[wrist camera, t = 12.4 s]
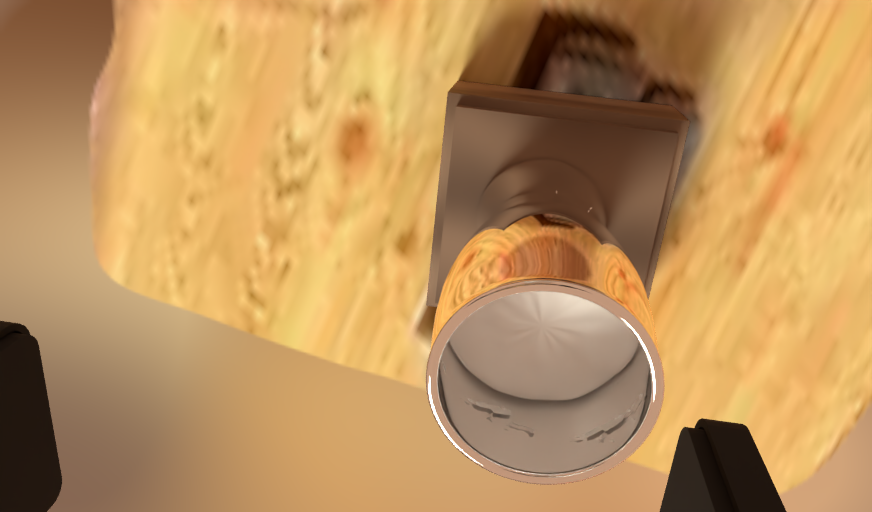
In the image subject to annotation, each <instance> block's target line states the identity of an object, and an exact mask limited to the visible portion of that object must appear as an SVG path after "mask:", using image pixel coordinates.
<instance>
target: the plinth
mask: <svg viewBox="0 0 872 512" xmlns="http://www.w3.org/2000/svg"><path fill="white" fill-rule="evenodd" d="M689 124H690V121H689V120H688V119H687V118H686V117H685V116H684V115H682V114H681V113H680V112H679V111H678V110H677V109H676V108H674V107H673V106H670V105H661V104H653V103H644V102H636V101H627V100H619V99H610V98H602V97H593V96H585V95H576V94H568V93H559V92H551V91H542V90H534V89H525V88H517V87H508V86H500V85H491V84H483V83H474V82H466V81H457V82H456V83H455V85H454V86H453V87H452V88H451V89H450V90H449V92H448V96H447V106H446V116H445V125H444V135H443V145H442V155H441V165H440V175H439V185H438V195H437V204H436V214H435V224H434V234H433V244H432V254H431V264H430V274H429V283H428V293H427V303H426V305H427V306H434V307H438V302H439V298H440V294H441V291H442V288H443V285H444V283H445V280H446V278H447V275H448V273H449V270H450V268H451V266H452V264H453V262H454V260H455V258H456V257H457V255H458V254H459V252H460V251H461V249H462V248H463V246H464V245H465V244H466V242H467V241H468V239H469V238H470V237H471V236H472V235H473V234H474V232H475V231H476V230H477V227H476V217H477V210H478V206H479V202H480V199H481V197H482V195H483V193H484V191H485V189H486V188H487V187H488V185H489V184H490V183H491V181H492V180H493V179H494V178H495V177H496V176H497V175H499V174H500V173H501V172H503V171H504V170H506V169H507V168H509V167H511V166H513V165H515V164H518V163H521V162H524V161H528V160H535V159H550V160H556V161H560V162H563V163H566V164H568V165H571V166H573V167H575V168H576V169H578V170H579V171H581V172H582V173H584V174H585V175H586V176H587V177H588V178H589V179H590V180H591V181H592V182H593V183H594V185H595V186H596V187H597V189H598V191H599V193H600V195H601V197H602V199H603V202H604V206H605V210H606V228H607V229H608V230H609V231H610V232H611V233H612V234H613V236H614V237H615V238H616V239H617V241H618V242H619V243H620V244H621V246H622V247H623V248H624V250H625V251H626V252H627V254H628V255H629V257H630V258H631V260H632V262H633V264H634V266H635V268H636V270H637V272H638V274H639V277H640V279H641V281H642V283H643V286H644V288H645V291H646V294H647V298H648V299H649V295H650V291H651V286H652V282H653V278H654V273H655V269H656V265H657V261H658V256H659V252H660V248H661V244H662V239H663V235H664V231H665V226H666V222H667V218H668V214H669V209H670V205H671V201H672V197H673V192H674V188H675V184H676V179H677V175H678V171H679V167H680V162H681V158H682V154H683V150H684V145H685V141H686V137H687V132H688V128H689Z"/></svg>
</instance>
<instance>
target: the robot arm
mask: <svg viewBox="0 0 872 512" xmlns="http://www.w3.org/2000/svg"><path fill="white" fill-rule="evenodd" d="M61 485H62V476H61V470H60V464H59V458H58V453H57V447H56V441H55V436H54V430H53V425H52V419H51V414H50V407H49V401H48V396H47V390H46V384H45V378H44V373H43V367H42V361H41V356H40V350H39V345H38V342H37V340H36V339H35V337H33V336H31V335H30V333H29V331H28V329H27V328H26V327H25V326H24V325H21V324H18V323H11V322H4V321H0V512H47V511H48V510H49V508H50V507H51V506H52V505H53V504H54V502H55V501H56V499H57V497H58V495H59V493H60V490H61ZM660 512H786V510H785V508H784V505H783V504H782V501H781V499H780V497H779V495H778V492H777V490H776V488H775V486H774V484H773V482H772V479H771V477H770V475H769V473H768V471H767V468H766V466H765V464H764V462H763V460H762V458H761V455H760V453H759V451H758V449H757V447H756V444H755V442H754V440H753V438H752V436H751V434H750V431H749V430H748V428H747V427H746V426H745V425H743V424H738V423H731V422H723V421H716V420H709V419H700V420H698V422H697V424H696V426H695V428H688V427H684V428H683V429H682V431H681V433H680V436H679V440H678V443H677V447H676V451H675V455H674V459H673V463H672V466H671V470H670V474H669V478H668V482H667V486H666V490H665V493H664V498H663V501H662V505H661V509H660Z"/></svg>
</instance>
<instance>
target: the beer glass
mask: <svg viewBox="0 0 872 512" xmlns="http://www.w3.org/2000/svg"><path fill="white" fill-rule="evenodd" d="M476 227H477V230H476V231H475V232H474V234H473V235H472V236H471V237H470V238H469V239H468V241H467V242H466V244H465V245H464V246H463V248H462V249H461V251H460V252H459V254H458V255H457V257H456V258H455V260H454V262H453V264H452V266H451V268H450V270H449V273H448V275H447V278H446V280H445V283H444V285H443V288H442V291H441V294H440V298H439V302H438V307H437V311H436V315H435V321H434V327H433V334H432V342H431V351H430V354H429V358H428V362H427V369H426V389H427V395H428V400H429V403H430V407H431V410H432V413H433V415H434V417H435V419H436V421H437V423H438V425H439V427H440V428H441V430H442V431H443V433H444V434H445V436H446V437H447V438H448V440H449V441H450V442H451V443H452V444H453V445H454V446H455V447H456V448H457V449H458V450H459V451H460V452H461V453H462V454H464V455H465V456H466V457H467V458H468V459H470V460H471V461H473V462H474V463H476V464H477V465H479V466H481V467H482V468H484V469H486V470H488V471H490V472H492V473H495V474H497V475H499V476H502V477H505V478H508V479H512V480H515V481H520V482H526V483H532V484H547V485H549V484H550V485H551V484H565V483H572V482H577V481H581V480H585V479H589V478H591V477H594V476H597V475H600V474H602V473H604V472H606V471H608V470H610V469H612V468H614V467H615V466H617V465H618V464H620V463H622V462H623V461H624V460H626V459H627V458H628V457H629V456H631V455H632V454H633V453H634V452H635V451H636V450H637V449H638V448H639V447H640V446H641V445H642V444H643V442H644V441H645V440H646V438H647V437H648V436H649V434H650V433H651V431H652V429H653V427H654V425H655V423H656V421H657V419H658V416H659V414H660V411H661V407H662V403H663V397H664V372H663V367H662V362H661V359H660V356H659V353H658V345H657V338H656V332H655V326H654V321H653V316H652V312H651V309H650V305H649V301H648V298H647V294H646V291H645V288H644V286H643V283H642V281H641V279H640V277H639V274H638V272H637V270H636V268H635V266H634V264H633V262H632V260H631V258H630V257H629V255H628V254H627V252H626V251H625V250H624V248H623V247H622V246H621V244H620V243H619V242H618V241H617V239H616V238H615V237H614V236H613V234H612V233H611V232H610V231H609V230H608V229H607V228H606V210H605V206H604V202H603V199H602V197H601V195H600V193H599V191H598V189H597V187H596V186H595V185H594V183H593V182H592V181H591V180H590V179H589V178H588V177H587V176H586V175H585V174H584V173H582V172H581V171H579V170H578V169H576V168H575V167H573V166H571V165H568V164H566V163H563V162H560V161H556V160H550V159H535V160H528V161H524V162H521V163H518V164H515V165H513V166H511V167H509V168H507V169H506V170H504V171H503V172H501V173H500V174H499V175H497V176H496V177H495V178H494V179H493V180H492V181H491V183H490V184H489V185H488V187H487V188H486V189H485V191H484V193H483V195H482V197H481V199H480V202H479V206H478V210H477V217H476Z"/></svg>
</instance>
